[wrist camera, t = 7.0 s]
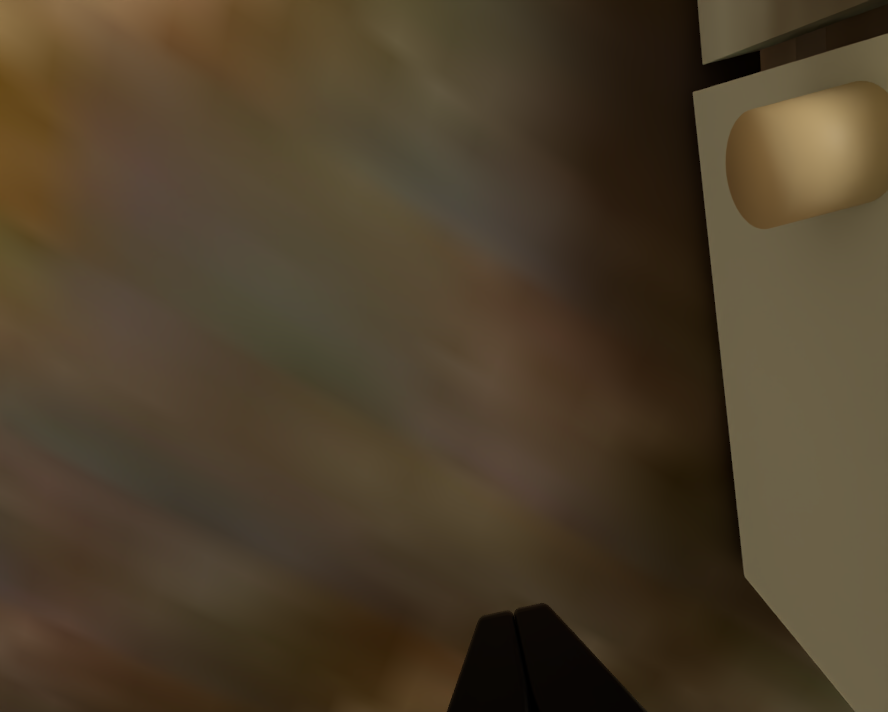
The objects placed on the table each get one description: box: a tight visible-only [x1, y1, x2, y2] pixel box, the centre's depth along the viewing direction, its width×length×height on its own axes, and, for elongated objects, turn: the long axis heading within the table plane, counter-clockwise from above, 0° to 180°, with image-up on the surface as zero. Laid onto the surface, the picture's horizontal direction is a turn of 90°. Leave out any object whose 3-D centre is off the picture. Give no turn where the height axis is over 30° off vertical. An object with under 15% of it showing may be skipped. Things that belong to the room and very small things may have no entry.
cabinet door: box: [693, 34, 888, 712], centre depth 9 cm, size 2×11×6 cm, turn 14°
